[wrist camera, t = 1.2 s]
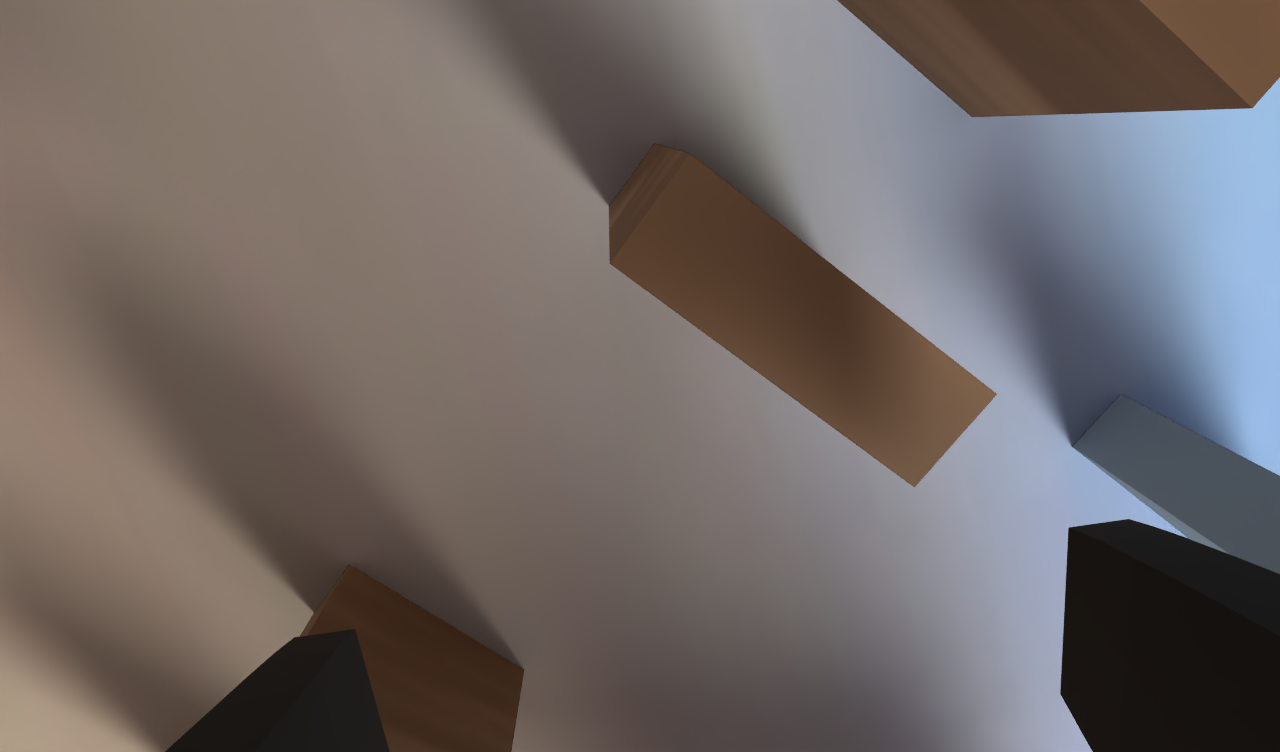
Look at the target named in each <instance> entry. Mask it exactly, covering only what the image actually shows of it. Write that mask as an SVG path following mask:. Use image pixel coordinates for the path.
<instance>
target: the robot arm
mask: <svg viewBox="0 0 1280 752" xmlns="http://www.w3.org/2000/svg"><path fill="white" fill-rule="evenodd" d="M1061 696H1062V698H1063V699H1064V701H1065V703H1066V705H1067V707H1068V708H1069V710H1070V712H1071V714H1072V716H1073V717H1074V719H1075V721H1076V723H1077V724H1078V726H1079V728H1080V730H1081V732H1082V733H1083V735H1084V737H1085V739H1086V741H1087V742H1088V744H1089V746H1090V748H1091V749H1092V751H1093V752H1280V574H1279V573H1276V572H1274V571H1271V570H1268V569H1266V568H1263V567H1261V566H1258V565H1256V564H1253V563H1251V562H1248V561H1245V560H1243V559H1240V558H1238V557H1235V556H1233V555H1230V554H1227V553H1225V552H1222V551H1220V550H1217V549H1214V548H1212V547H1209V546H1206V545H1204V544H1201V543H1198V542H1196V541H1193V540H1190V539H1188V538H1185V537H1182V536H1179V535H1176V534H1174V533H1171V532H1168V531H1165V530H1162V529H1159V528H1156V527H1153V526H1150V525H1147V524H1143V523H1140V522H1136V521H1133V520H1129V519H1126V520H1119V521H1112V522H1105V523H1098V524H1091V525H1084V526H1077V527H1070V528H1069V531H1068V552H1067V572H1066V592H1065V613H1064V633H1063V654H1062V674H1061ZM165 752H390V751H389V747H388V744H387V740H386V737H385V733H384V730H383V726H382V722H381V719H380V715H379V712H378V708H377V705H376V701H375V697H374V694H373V690H372V687H371V683H370V680H369V676H368V673H367V669H366V665H365V662H364V658H363V655H362V651H361V648H360V644H359V640H358V637H357V633H356V630H355V629H351V630H344V631H337V632H330V633H323V634H316V635H309V636H301V637H294V638H293V639H292V640H291V641H289V642H288V643H287V644H286V645H284V646H283V647H282V648H280V649H279V650H278V651H277V652H276V653H274V654H273V655H272V656H271V657H270V658H268V659H267V660H266V661H265V662H264V663H263V664H262V665H260V666H259V667H258V668H257V669H256V670H255V671H254V672H252V673H251V674H250V675H249V676H248V677H247V678H246V679H245V680H244V681H242V682H241V683H240V684H239V685H238V686H237V687H236V688H235V689H234V690H233V691H231V692H230V693H229V694H228V695H227V696H226V697H225V698H224V699H223V700H222V701H220V702H219V703H218V704H217V705H216V706H215V707H214V708H213V709H212V710H211V711H209V712H208V713H207V714H206V715H205V716H204V717H203V718H202V719H201V720H200V721H199V722H197V723H196V724H195V725H194V726H193V727H192V728H191V729H190V730H189V731H188V732H186V733H185V734H184V735H183V736H182V737H181V738H180V739H179V740H178V741H176V742H175V743H174V744H173V745H172V746H171V747H170V748H169V749H168V750H166V751H165Z"/></svg>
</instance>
